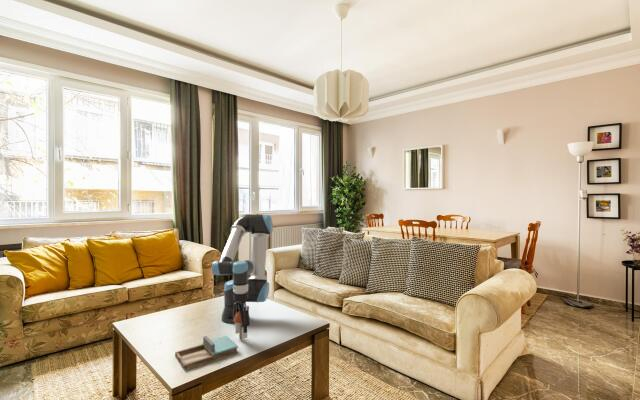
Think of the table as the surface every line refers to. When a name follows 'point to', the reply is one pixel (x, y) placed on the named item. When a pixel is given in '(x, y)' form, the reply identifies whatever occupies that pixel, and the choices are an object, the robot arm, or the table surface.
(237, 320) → the mushroom
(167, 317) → the table surface
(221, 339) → the lid
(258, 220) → the robot arm
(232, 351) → the board
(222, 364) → the table surface
